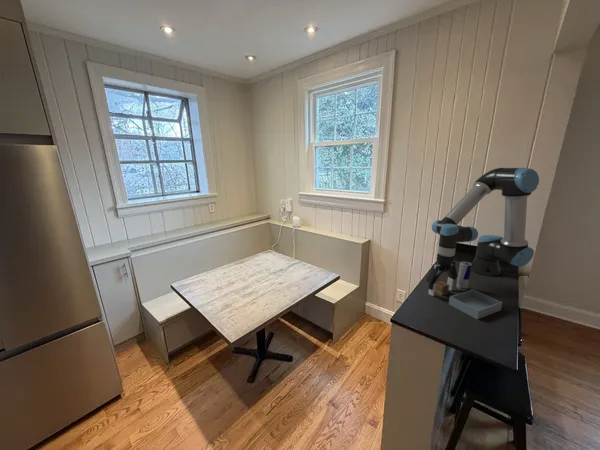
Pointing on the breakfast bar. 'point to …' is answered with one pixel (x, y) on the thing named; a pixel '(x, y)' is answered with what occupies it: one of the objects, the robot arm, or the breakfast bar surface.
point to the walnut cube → (441, 288)
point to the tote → (475, 303)
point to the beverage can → (463, 275)
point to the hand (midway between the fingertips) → (440, 292)
